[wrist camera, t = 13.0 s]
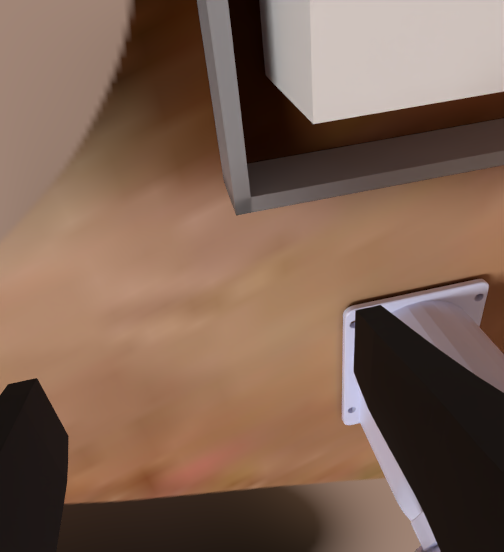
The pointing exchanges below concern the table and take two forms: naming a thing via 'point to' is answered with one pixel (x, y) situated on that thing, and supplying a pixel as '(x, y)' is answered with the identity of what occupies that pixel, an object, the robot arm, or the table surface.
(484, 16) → the white box
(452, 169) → the bin
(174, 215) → the table surface
